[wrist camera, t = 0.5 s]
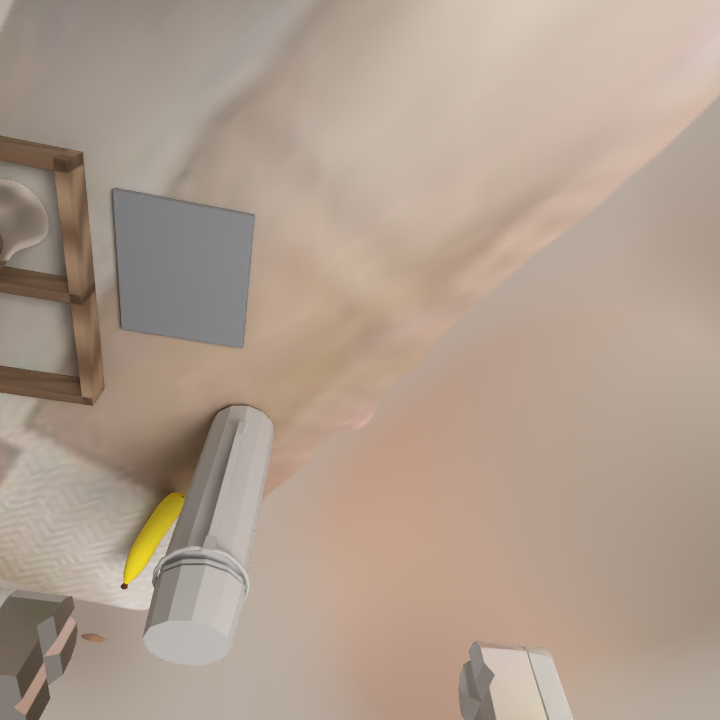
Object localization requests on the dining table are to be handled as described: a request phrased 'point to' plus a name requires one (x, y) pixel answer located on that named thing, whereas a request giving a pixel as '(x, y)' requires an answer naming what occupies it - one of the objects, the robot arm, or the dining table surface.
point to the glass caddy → (60, 279)
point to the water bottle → (212, 543)
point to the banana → (152, 535)
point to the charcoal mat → (182, 267)
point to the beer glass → (19, 219)
